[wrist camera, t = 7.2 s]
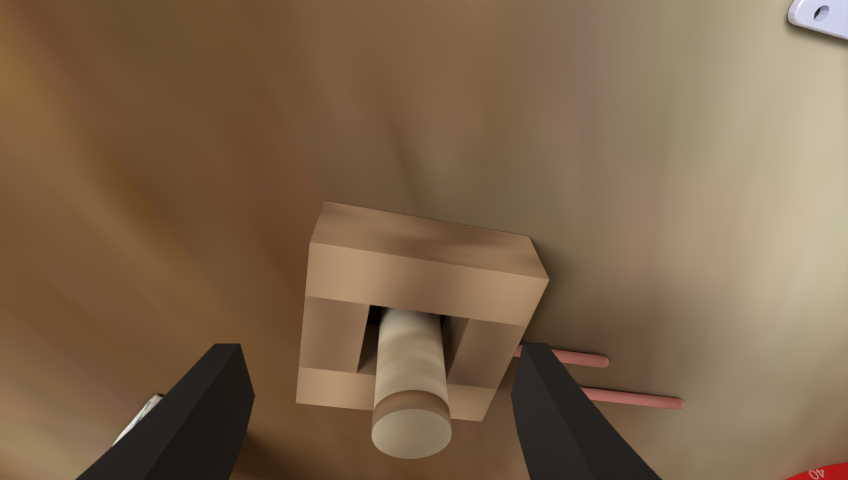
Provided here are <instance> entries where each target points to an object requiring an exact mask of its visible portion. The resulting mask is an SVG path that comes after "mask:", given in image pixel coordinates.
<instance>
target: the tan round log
mask: <svg viewBox="0 0 848 480" xmlns="http://www.w3.org/2000/svg"><path fill="white" fill-rule="evenodd" d="M451 436H452V427H451V418H450V410H449V403H448V394H447V384H446V374H445V365H444V355H443V345H442V336H441V326H440V317H439V314H434V313H427V312H420V311H412V310H405V309H398V308H391V307H384V306H381V315H380V329H379V343H378V358H377V372H376V386H375V400H374V411H373V421H372V440H373V443H374V444H375V446H376V447H377V448H378V449H379V450H380V451H382V452H384V453H386V454H388V455H390V456H394V457H398V458H406V459H413V458H422V457H427V456H430V455H433V454H435V453H437V452H439V451H441V450H442V449H443V448H445V447H446V446H447V444H448V443H449V442H450V439H451Z"/></svg>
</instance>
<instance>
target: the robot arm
mask: <svg viewBox="0 0 848 480" xmlns="http://www.w3.org/2000/svg"><path fill="white" fill-rule="evenodd" d="M819 7H820V12H819V14H818V16H817V17H816V18H815V19H814V14H815V12H816V10H817V9H818V8H819ZM788 20H789V22H790V23H792V24H793V25H797V26H800V27H804V28H807V29H811V30H814V31H818V32H821V33H825V34H829V35H832V36H836V37H839V38H843V39H846V40H848V0H794V2H793V4H792V5H791V7H790V9H789V12H788ZM254 398H255V394H254V391H253V387H252V384H251V380H250V377H249V373H248V370H247V366H246V363H245V359H244V356H243V352H242V349H241V345H240V344H214V345H213V346H212V347H211V348H210V349H209V350H208V351H207V352H206V353H205V354H204V355H203V356H202V357H201V358H200V360H199V361H198V362H197V363H196V364H195V365H194V366H193V367H192V368H191V369H190V370H189V371H188V372H187V373H186V374H185V375H184V376H183V377H182V378H181V379H180V380H179V381H178V382H177V384H176V385H175V386H174V387H173V388H172V389H171V390H170V391H169V392H168V393H167V394H166V395H165V396H164V397H163V398H162V399H161V400H160V401H159V402H158V403H157V404H156V405H155V406H154V407H153V408H152V409H151V410H150V411H149V412H148V413H147V414H146V415H145V416H144V417H143V418H142V419H141V420H140V421H139V422H138V423H137V424H136V425H135V426H134V427H132V428H131V429H130V430H129V431H128V432H127V433H126V434H125V435H124V436H123V437H122V438H121V439H120V440H119V441H117V442H116V443H115V444H114V445H113V446H112V447H111V448H110V449H109V450H108V451H107V452H106V453H105V454H103V455H102V456H101V457H100V458H99V459H98V460H97V461H96V462H95V463H94V464H92V465H91V466H90V467H89V468H88V469H87V470H86V471H85V472H83V473H82V474H81V475H80V476H79V477H78V478H76V479H75V480H229V477H230V475H231V472H232V470H233V467H234V464H235V462H236V459H237V456H238V454H239V451H240V448H241V446H242V443H243V440H244V437H245V434H246V430H247V426H248V423H249V419H250V415H251V411H252V406H253V402H254ZM511 398H512V404H513V410H514V416H515V422H516V427H517V433H518V437H519V440H520V444H521V448H522V451H523V455H524V458H525V462H526V465H527V469H528V472H529V476H530V479H531V480H662V479H661V478H660V477H659V476H658V475H657V474H656V473H655V472H654V471H653V470H652V469H651V468H650V467H649V466H648V465H647V464H646V463H645V462H644V461H643V460H642V458H641V457H640V456H639V455H638V454H637V453H636V452H635V451H634V450H633V449H632V448H631V447H630V445H629V444H628V443H627V442H626V441H625V440H624V439H623V438H622V437H621V436H620V434H619V433H618V432H617V431H616V430H615V429H614V428H613V426H612V425H611V424H610V423H609V422H608V421H607V419H606V418H605V417H604V416H603V415H602V413H601V412H600V411H599V410H598V409H597V407H596V406H595V405H594V404H593V403H592V401H591V400H590V399H589V398H588V396H587V395H586V394H585V393H584V392H583V390H582V389H581V388H580V386H579V385H578V384H577V383H576V381H575V380H574V379H573V377H572V376H571V375H570V374H569V372H568V371H567V370H566V368H565V367H564V366H563V364H562V363H561V362H560V360H559V359H558V358H557V356H556V355H555V354H554V352H553V351H552V350H551V348H550V347H549V346H548V345H547V344H546V343H523V345H522V349H521V354H520V358H519V362H518V366H517V371H516V375H515V379H514V383H513V388H512V392H511Z"/></svg>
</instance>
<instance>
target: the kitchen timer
mask: <svg viewBox="0 0 848 480" xmlns="http://www.w3.org/2000/svg"><path fill="white" fill-rule="evenodd" d="M786 480H848V462H847V463H841V464H835V465H829V466H824V467H821V468H817V469H814V470H811V471H807V472H804V473H800V474H798V475H795V476H793V477H791V478H788V479H786Z"/></svg>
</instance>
